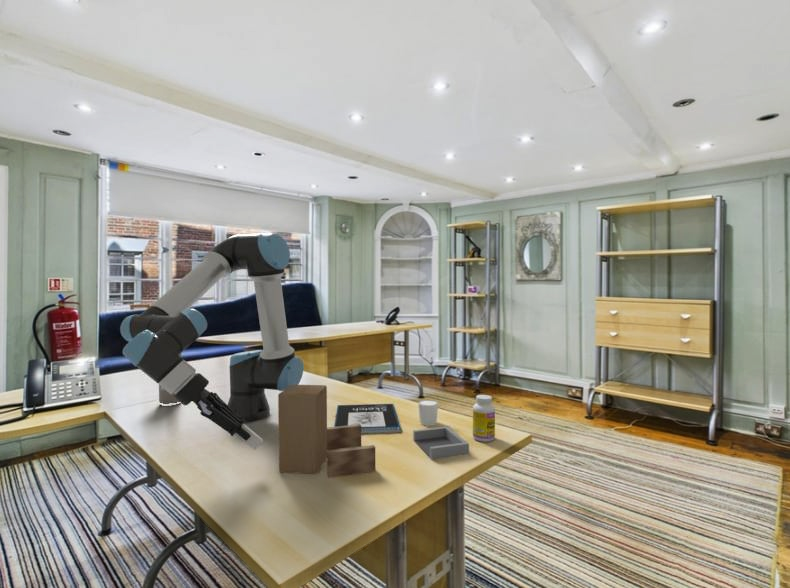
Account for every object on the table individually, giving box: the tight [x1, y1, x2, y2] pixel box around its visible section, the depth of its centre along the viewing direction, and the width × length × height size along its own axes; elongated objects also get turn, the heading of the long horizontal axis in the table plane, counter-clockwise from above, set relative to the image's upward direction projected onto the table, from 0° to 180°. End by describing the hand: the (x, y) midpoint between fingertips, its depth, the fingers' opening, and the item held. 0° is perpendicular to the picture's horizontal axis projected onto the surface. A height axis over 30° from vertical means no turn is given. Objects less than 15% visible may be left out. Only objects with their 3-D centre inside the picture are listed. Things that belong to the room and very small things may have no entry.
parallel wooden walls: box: [326, 424, 376, 478], centre depth 110 cm, size 12×18×6 cm, turn 17°
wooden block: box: [277, 384, 328, 475], centre depth 107 cm, size 10×10×20 cm
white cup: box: [417, 399, 439, 427], centre depth 139 cm, size 7×7×7 cm
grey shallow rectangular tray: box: [412, 426, 470, 460], centre depth 118 cm, size 11×14×3 cm
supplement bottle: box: [472, 394, 496, 443], centre depth 125 cm, size 7×7×13 cm
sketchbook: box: [333, 403, 402, 435], centre depth 143 cm, size 22×30×2 cm
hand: (258, 444), depth 103 cm, fingers closed
